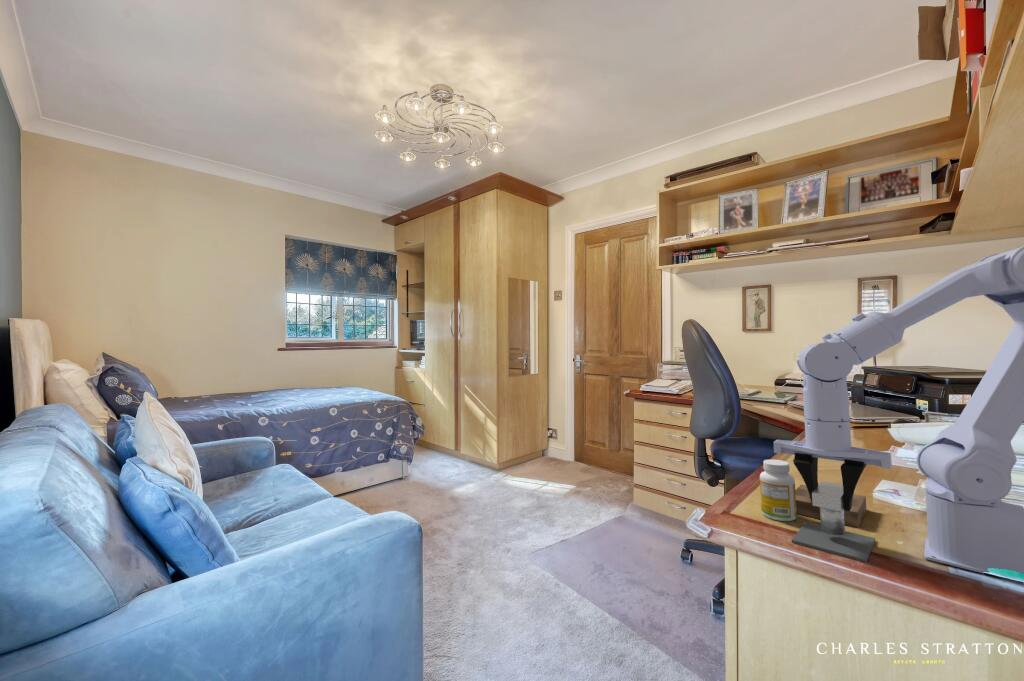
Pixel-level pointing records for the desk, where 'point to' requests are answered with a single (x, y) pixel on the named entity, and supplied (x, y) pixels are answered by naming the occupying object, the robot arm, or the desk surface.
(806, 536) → the charcoal mat
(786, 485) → the supplement bottle
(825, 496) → the steel t key
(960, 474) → the robot arm
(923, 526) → the desk surface
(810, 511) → the socket block
